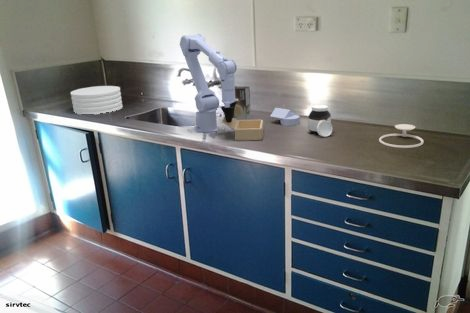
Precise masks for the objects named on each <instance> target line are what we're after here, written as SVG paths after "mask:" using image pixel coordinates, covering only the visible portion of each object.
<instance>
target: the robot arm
mask: <svg viewBox="0 0 470 313" xmlns="http://www.w3.org/2000/svg"><path fill="white" fill-rule="evenodd" d="M179 47H180V49H181V52H182V54H183V56H184V59H185V61H186V62H185V63H186V64H187V67H188V70H189V73H190V75H191V78H192V81H193V84H194V85H195V89H196V92H197V93H196V95H195V97H194V100H195V107H196V109H197V111H196V112H195V127H196V132H197V133H206V132H207V133H209V132H210V133H211V132H215V133H217V132H218V130H219V128H220V126H219V125H218V122H217V111H218V108H219V107H220V99H219V98H218V96H217V95H216V92H215V91H214V90H212V89H210V88H209V86H208V83H207V80H206V78H205V75H204V72H203V70H202V67H201V65H200V62H199V58H198V56H199V55H200V54H201V52H202V53H203V55H205V56H207V57H208V61H209V62H210V63H211V64H212V65H213V66H214V67H215V68H216V70H217V73H218V75H219V76H218V77H219V80H220V84H221V85H220V87H221V89H220V90H221V102H222V104H223V106H221V107H220V108H221V111H222V112H223V115H224V117H225V119H226V122H228V123H231V122H232V118H233V117H234V110H235V105H236V103H237V102H236V101H238V99H235V86H236V85H235V73H236V72H237V68H238V67H237V64H236V61H234V59H228V58H227V57H226V56H224V54H222V53H221V51H220V50H214V49H213V48H212V46H210V45H209V43H208V42H206V39H205V37H204V36H203V35H202V34H201V33H198V34H192V35H191V34H189V35H182V36H181V37H180V40H179Z"/></svg>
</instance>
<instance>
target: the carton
mask: <svg viewBox="0 0 470 313" xmlns="http://www.w3.org/2000/svg"><path fill="white" fill-rule="evenodd" d="M263 136H264V120H263V119H248V120H237V123H236V125H235V128H234V140H236V141H261V140H263Z"/></svg>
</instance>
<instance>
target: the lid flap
mask: <svg viewBox="0 0 470 313" xmlns="http://www.w3.org/2000/svg"><path fill="white" fill-rule="evenodd" d="M237 122H238V120H236V119H235V118H232V122H231V123H228V122H226V119H225V116H223V118H222V121H221V123H222V124H224V125H225V126H227V127H229V128H231V129H232V130H234V131H235V127H236V125H237Z"/></svg>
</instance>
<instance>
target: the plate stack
mask: <svg viewBox="0 0 470 313" xmlns="http://www.w3.org/2000/svg"><path fill="white" fill-rule="evenodd" d="M70 96H71V97H70V98H71V104H72V108H73V113H74V112H75V113H74V114H76V113H77V114H76V115H81V114H94V115H101V114H100V113H103V114H107V113H106V112H109V113H112V111H113V112H116V110H117V111H119V110H121V109H123V101H122V93H121V86H118V85H117V86H115V85H96V86H90V87H89V86H88V87H82V88H77V89H74V90H72V91H70Z"/></svg>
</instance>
